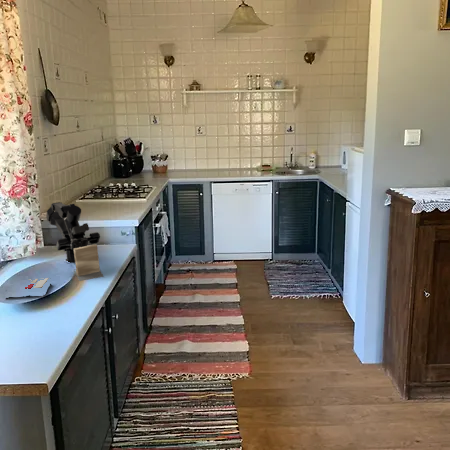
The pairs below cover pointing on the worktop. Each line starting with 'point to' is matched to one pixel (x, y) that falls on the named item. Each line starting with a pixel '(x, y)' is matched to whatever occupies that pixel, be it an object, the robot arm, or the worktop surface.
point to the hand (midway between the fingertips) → (84, 257)
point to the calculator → (38, 284)
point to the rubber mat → (90, 276)
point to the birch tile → (86, 260)
